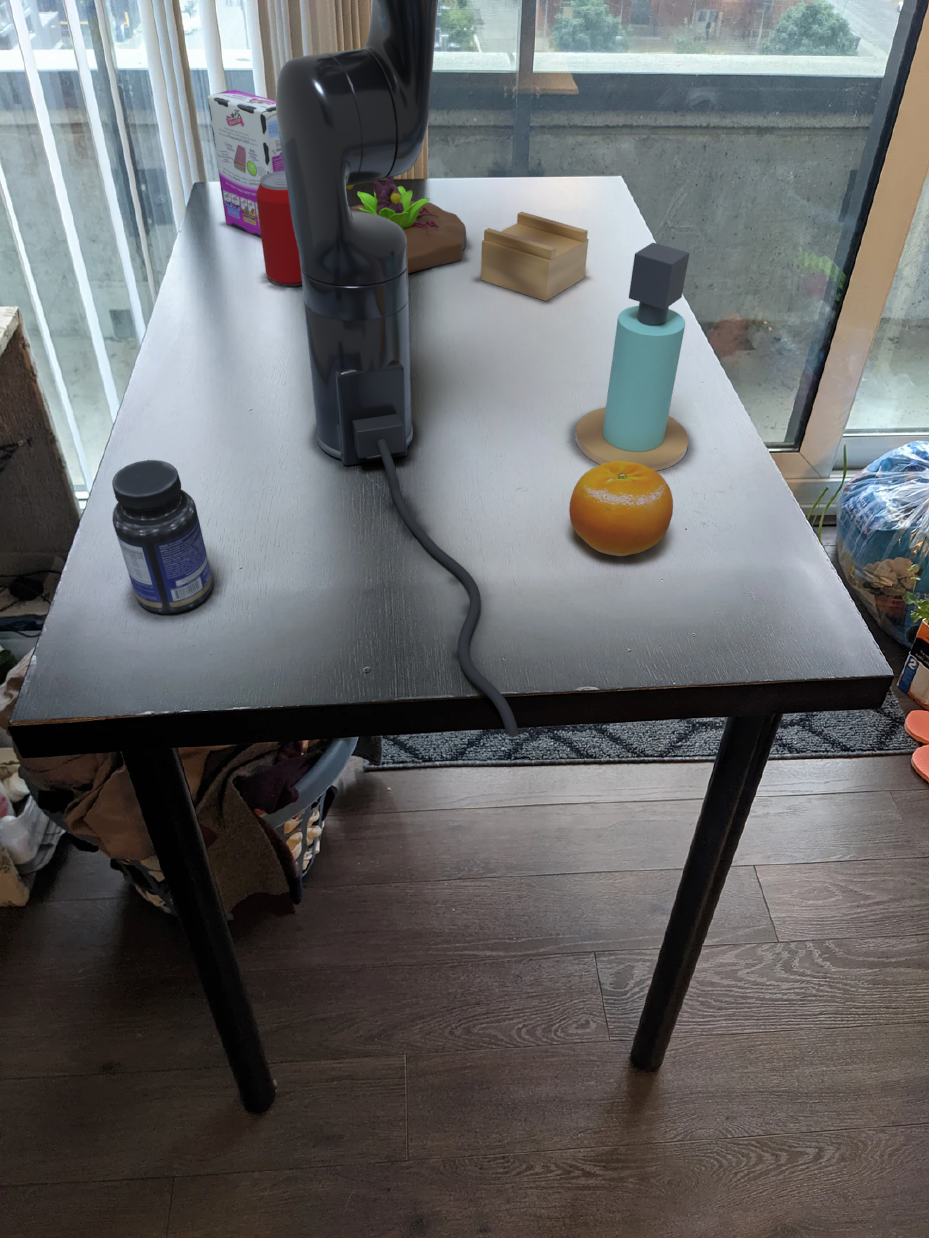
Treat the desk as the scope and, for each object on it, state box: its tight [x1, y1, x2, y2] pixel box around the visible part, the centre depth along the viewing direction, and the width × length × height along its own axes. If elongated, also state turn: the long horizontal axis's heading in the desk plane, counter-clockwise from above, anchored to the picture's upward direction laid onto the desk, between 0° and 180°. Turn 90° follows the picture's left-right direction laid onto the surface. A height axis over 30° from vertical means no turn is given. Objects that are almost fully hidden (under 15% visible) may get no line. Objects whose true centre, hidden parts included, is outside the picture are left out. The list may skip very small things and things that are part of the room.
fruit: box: [568, 461, 674, 557], centre depth 80 cm, size 8×8×8 cm
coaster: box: [574, 406, 689, 472], centre depth 94 cm, size 11×11×1 cm
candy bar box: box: [206, 89, 285, 238], centre depth 126 cm, size 11×5×16 cm, turn 49°
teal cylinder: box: [603, 242, 690, 452], centre depth 87 cm, size 18×6×6 cm
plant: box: [346, 177, 467, 274], centre depth 125 cm, size 20×20×11 cm
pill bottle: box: [111, 459, 214, 614], centre depth 73 cm, size 6×6×11 cm
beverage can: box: [256, 171, 302, 287], centre depth 116 cm, size 7×7×12 cm
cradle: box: [480, 211, 589, 302], centre depth 119 cm, size 10×9×6 cm
